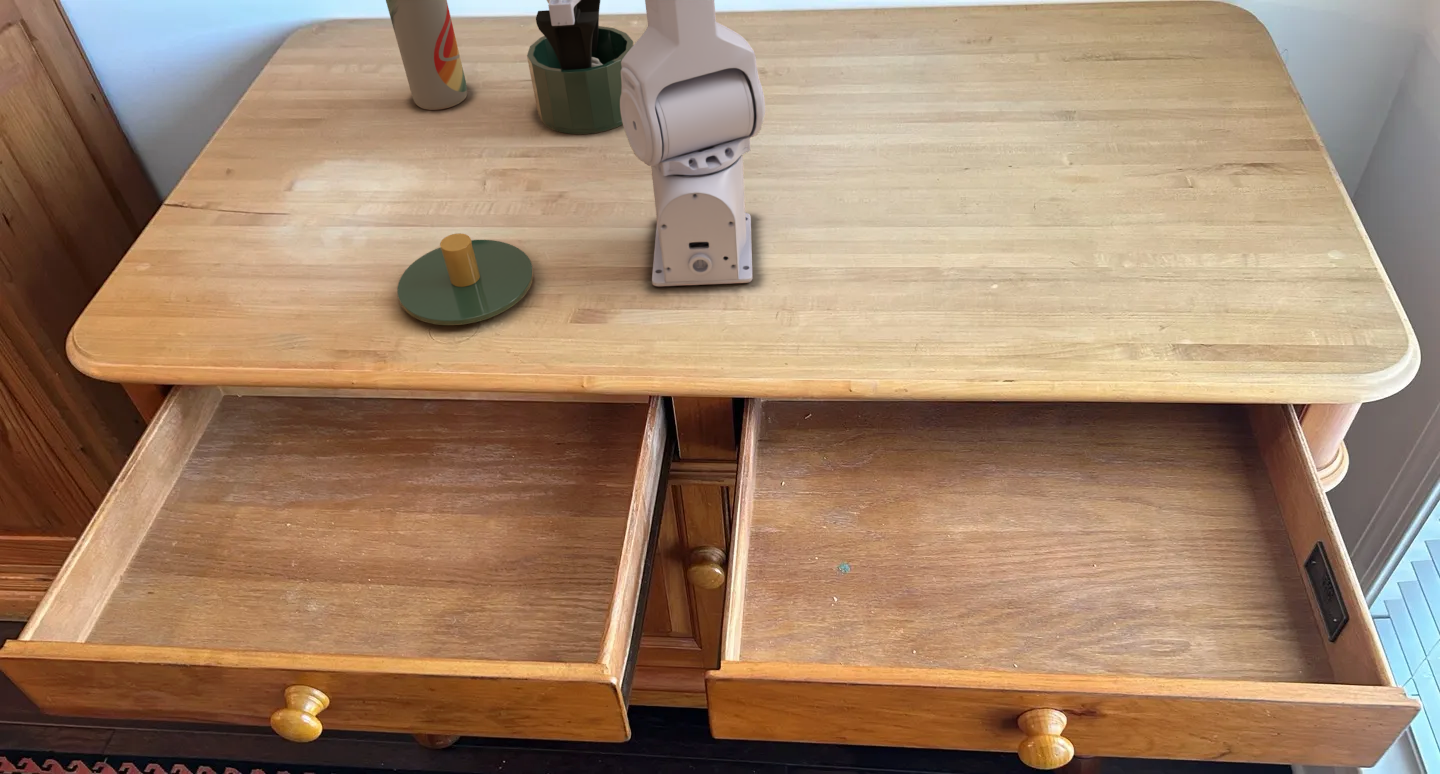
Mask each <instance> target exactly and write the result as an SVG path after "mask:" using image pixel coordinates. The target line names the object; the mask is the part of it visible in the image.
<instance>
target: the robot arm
mask: <svg viewBox="0 0 1440 774" xmlns="http://www.w3.org/2000/svg"><path fill="white" fill-rule="evenodd" d="M546 2H547V4H548V10H547V9H546V10H538V11H537V13H536V16H535V22H536V27H537V29H538V31H540V33H541V34H542V35H543V36H545V37H546V38H547V40H548V41H549V43H550V44H551V46H552V48H553V49H554V51H555V53H556V56H557V58H558V61H559V63H560V66H561V68H562V69H563V70H573V69H587V68H591V67H592V52H596V50H597V44H598V28H599V26H600V24H599V23H600V5H601V0H546ZM644 4H645V11H646V12H645V13H646V20H647V22H646V23H647V27H646V29H645V30H644V32H643V33H642V34H641V35H640V37H639V38H638V39H637V40H636V42H635V43H633V44H634V45H633V46H632V48H631V49H630V50H629V51H628V53H627V54H626V55H625V56H624V58H623V59H622V61H621V66H622V69H621V83H622V92H621V96H620V112H621V118H622V123H623V125H622V126H623V130H624V133H625V137H626V139H627V142H628V144H629V146H630V148H631V150H632V152H633V154H634V155H635V156H636V158H637V159H638V160H640V161H641V162H642V163H644V164H645V165H647V166H649V167H650V169H651V170H650V171H651V180H652V187H653V196H654V206H655V215H656V227H655V239H654V252H653V264H652V273H651V284H652V285H653V286H654V287H677V286H700V285H702V286H703V285H727V284H746V283H747V284H748V283H751V282H752V281H753V251H752V250H753V248H752V247H753V246H752V216H751V214H750V213H748V212H746V201H745V200H746V199H745V197H746V195H745V179H744V178H745V177H744V157H743V156H744V154H746V153H749V152H750V151H751V138H754V137H756V136H758V134H760V132H761V130H762V127H763V124H764V122H765V117H766V99H765V94H764V89H763V86H762V83H761V80H760V77H759V71H758V70H759V69H758V64H757V57H756V52H755V50H754V49H753V48H752V46H751V45H750V42H748V41H747V40H746V38H745V37H743V36H742V35H741V34H740V33H738V32H736V31H735V30H734V29H731V28H729V27H728V26H726V25H724V24H722V23H720V22H718V21H717V19H716V4H715V0H644Z"/></svg>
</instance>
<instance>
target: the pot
mask: <svg viewBox="0 0 1440 774" xmlns="http://www.w3.org/2000/svg"><path fill="white" fill-rule="evenodd" d="M634 44H635V43H634V40H633V39H632V38H631V37H630V36H629V34H628V33H627V32H624V31H622V30H619V29H617V28H615V27H610V26H603V25H599V28H598V44H597V50H596V52H592V57H594V58H597V59H599V62H600V63H602V64H603V65H600V66H595V67H591V68H587V69H573V70H563V69H562V68H561V66H560V63H559V61H558V58H557V56H556V53H555V51H554V49H553V48H552V46H551V44H550V43H549V41H548V40H547V38H546V37H545V36H544V35H543V36H541V37H539V38H538V39H537V40H535V41H534V42H533V43H532V44H531V45H530V46H529V48H528V51H527V54H526V58H527V63H528V69H529V74H530V79H531V85H532V90H533V95H534V101H535V106H536V111H537V114H538V118H539V119H540V122H541V123H542V124H543V125H544V126H545V127H547V128H549V129H551V130H553V131H555V132H559V133H563V134H570V135H591V134H598V133H603V132H607V131H610V130H614V129H616V128H618V127H621V126H623V123H622V118H621V112H620V96H621V92H622V83H621V69H622V66H621V61H622V59H623V58H624V56H625V55H626V54H627V53H628V51H629V50H630V49H631V48H632V46H633V45H634Z"/></svg>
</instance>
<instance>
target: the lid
mask: <svg viewBox="0 0 1440 774" xmlns="http://www.w3.org/2000/svg"><path fill="white" fill-rule="evenodd" d="M534 276H535V275H534V266H533V264H532V261H531V259H530V257H529V256H528V255H527V254H526V253H525V252H524V251H523V250H521V249H520V248H519V247H517V246H515V245H513V244H510V243H508V242H504V241H499V240H494V239H472V238H471V237H470V236H469V235H468V234H466V233H461V232H460V233H452V234H449V235H447V236H445V237H444V238H442V240H441V241H440V244H439V247H438V248H434V249H433V250H430V251H429V252H426V253H425V254H423V255H422V256H420V257H419V258H417V259H416V260H415V261H413V262H412V263H411V264H410V265H409V266H408V267H406V269H405V270H404V271H403V273H402V274H401V276H400V278H399V280H398V284H397V291H396V293H397V298H398V302H399V304H400V307H402V309H403V310H404V311H405V312H406V313H407V314H408V315H410V316H411V317H412V318H414V319H417V320H419V321H422V322H424V323H427V324H433V325H439V326H462V325H467V324H473V323H477V322H482V321H485V320H488V319H491V318H494V317H496V316H498V315H500V314H503V313H504V312H506V311H507V310H509V309H511V308H512V307H514V306H515V305H517V304H518V303H519V302H520V301H521V300H522V299H523V298H524V297H525V296H526V295H527V293H528V292H529V290H530V288H531V287H532V284H533V281H534Z"/></svg>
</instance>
